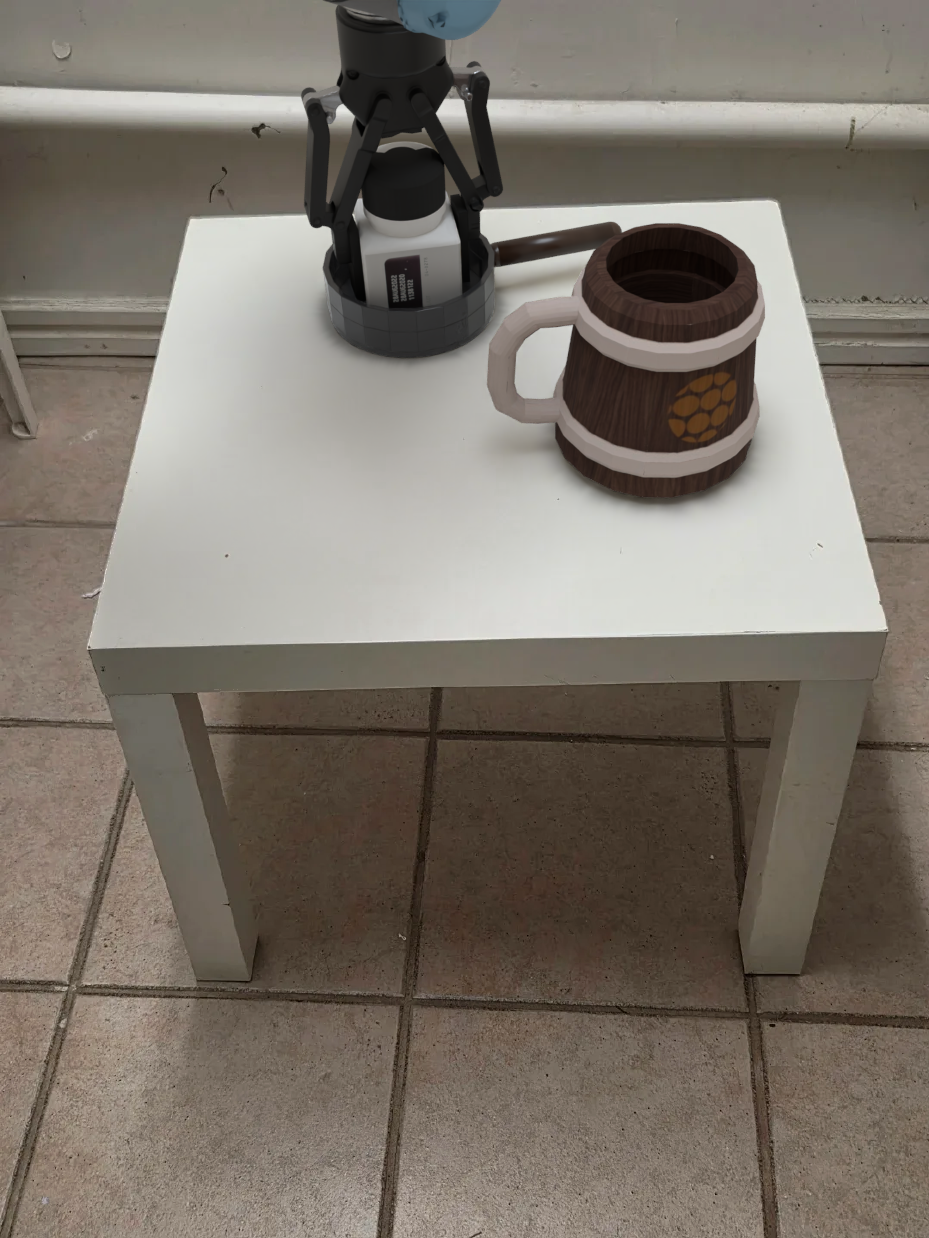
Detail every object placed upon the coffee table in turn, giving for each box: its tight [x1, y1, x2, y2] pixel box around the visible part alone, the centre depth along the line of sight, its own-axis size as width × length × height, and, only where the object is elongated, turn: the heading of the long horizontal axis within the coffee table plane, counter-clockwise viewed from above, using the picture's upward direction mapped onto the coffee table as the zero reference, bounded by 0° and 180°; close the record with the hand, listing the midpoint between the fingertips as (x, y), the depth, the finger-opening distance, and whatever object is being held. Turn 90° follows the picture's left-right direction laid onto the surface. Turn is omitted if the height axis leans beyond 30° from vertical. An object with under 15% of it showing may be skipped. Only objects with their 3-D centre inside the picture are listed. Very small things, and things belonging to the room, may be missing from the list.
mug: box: [486, 222, 766, 499], centre depth 84 cm, size 20×15×15 cm
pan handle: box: [490, 221, 623, 268], centre depth 100 cm, size 12×2×2 cm, turn 105°
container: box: [353, 141, 462, 308], centre depth 96 cm, size 8×8×13 cm
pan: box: [322, 232, 496, 359], centre depth 99 cm, size 14×14×4 cm
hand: (410, 282), depth 99 cm, fingers closed on container, 8 cm apart
